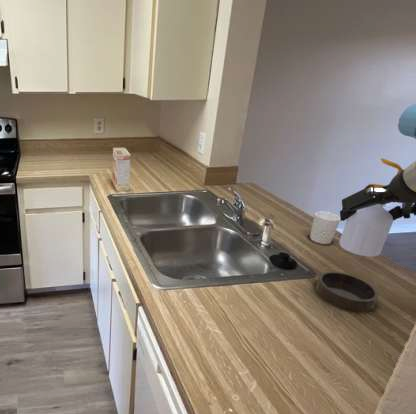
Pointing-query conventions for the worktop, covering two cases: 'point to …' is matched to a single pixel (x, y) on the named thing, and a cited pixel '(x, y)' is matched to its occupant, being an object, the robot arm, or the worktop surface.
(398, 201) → the robot arm
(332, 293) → the holder
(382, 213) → the soap bottle
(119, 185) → the coffeecake box
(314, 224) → the white cup
